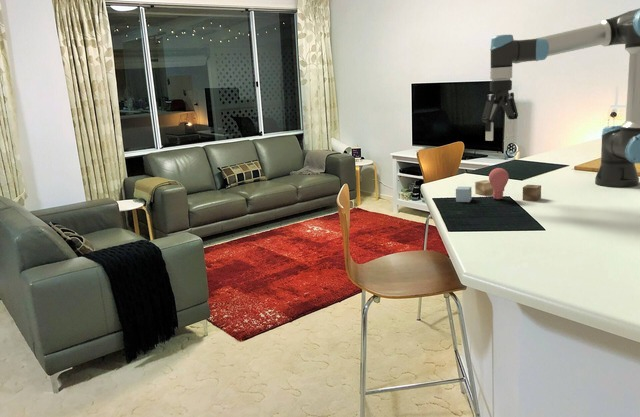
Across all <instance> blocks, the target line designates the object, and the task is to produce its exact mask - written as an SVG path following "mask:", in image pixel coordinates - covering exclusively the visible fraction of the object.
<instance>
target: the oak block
mask: <svg viewBox="0 0 640 417" xmlns="http://www.w3.org/2000/svg"><path fill="white" fill-rule="evenodd" d="M474 185H475V186H474V188H475V189H474V190H475V191H474V192H475V194H476V195H480V196H484V195H485V196H488V195H493V193H494V191H493V187H492V185H491V183H490V181H489V179H488V180H487V179H484V180H483V179H482V180H477V181H475V182H474Z"/></svg>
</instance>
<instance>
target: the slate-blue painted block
mask: <svg viewBox="0 0 640 417" xmlns="http://www.w3.org/2000/svg"><path fill="white" fill-rule="evenodd" d="M455 201H456V203H457V202H458V203H470V202H471V201H472V186H457V187H456V188H455Z"/></svg>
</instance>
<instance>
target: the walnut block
mask: <svg viewBox="0 0 640 417" xmlns="http://www.w3.org/2000/svg"><path fill="white" fill-rule="evenodd" d="M541 199H542V185H540V184H525V185H524V186H522V201H529V202H530V201H532V202H538V201H539V200H541Z"/></svg>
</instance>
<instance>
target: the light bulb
mask: <svg viewBox="0 0 640 417" xmlns="http://www.w3.org/2000/svg"><path fill="white" fill-rule="evenodd" d="M509 179H510V174H509V173H508V171H507V170H505V169H504V168H502V167H496V168H494V169H492V170H491V171H490V173H489V174H488V181H490V183H491V185H492V187H493V191H494V193H493V194H492V196H493V199H496V200H501V199H503V198H504V192H505V187H506V186H507V184H508V182H509Z"/></svg>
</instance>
